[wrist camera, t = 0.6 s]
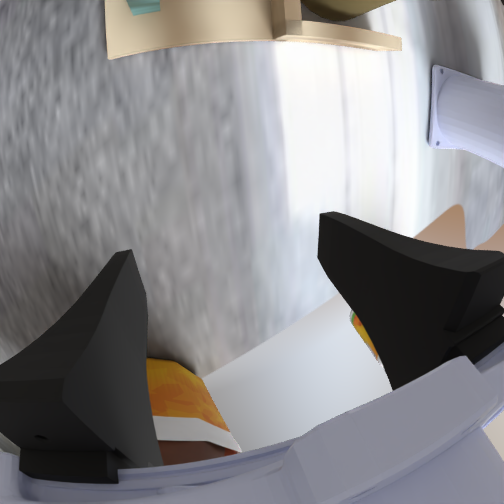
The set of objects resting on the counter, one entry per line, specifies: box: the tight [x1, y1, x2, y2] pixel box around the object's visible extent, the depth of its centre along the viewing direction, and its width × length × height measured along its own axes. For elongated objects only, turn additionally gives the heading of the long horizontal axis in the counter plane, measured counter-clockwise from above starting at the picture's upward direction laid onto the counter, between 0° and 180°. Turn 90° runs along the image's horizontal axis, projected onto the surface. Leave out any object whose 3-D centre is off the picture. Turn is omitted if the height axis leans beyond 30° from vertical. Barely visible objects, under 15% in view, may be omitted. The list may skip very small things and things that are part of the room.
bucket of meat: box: [146, 358, 243, 466], centre depth 21 cm, size 20×16×20 cm
